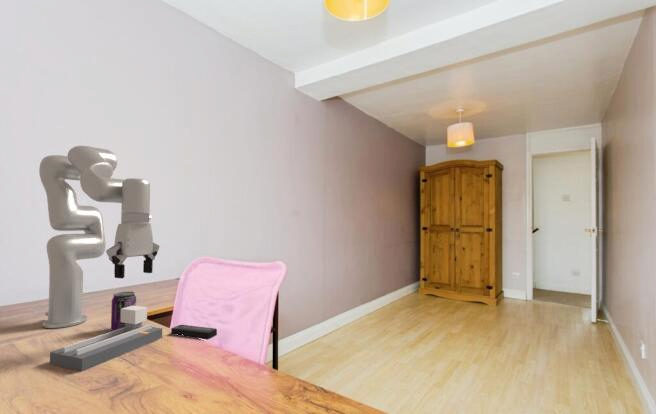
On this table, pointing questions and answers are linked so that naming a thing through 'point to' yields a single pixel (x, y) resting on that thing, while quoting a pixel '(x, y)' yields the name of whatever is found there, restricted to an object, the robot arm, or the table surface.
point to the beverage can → (120, 307)
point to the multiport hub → (194, 331)
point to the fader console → (103, 347)
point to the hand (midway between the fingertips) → (134, 275)
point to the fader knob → (133, 317)
